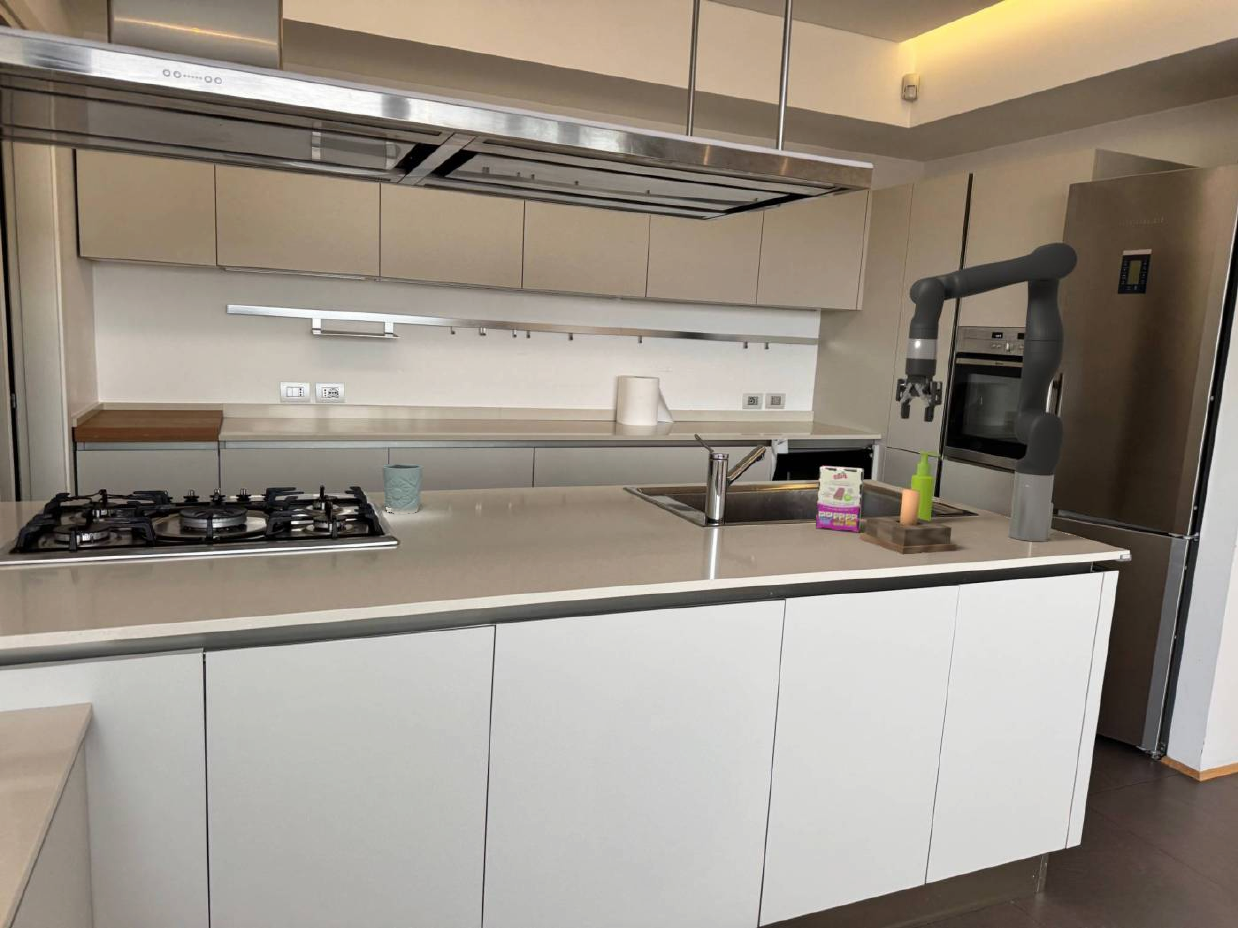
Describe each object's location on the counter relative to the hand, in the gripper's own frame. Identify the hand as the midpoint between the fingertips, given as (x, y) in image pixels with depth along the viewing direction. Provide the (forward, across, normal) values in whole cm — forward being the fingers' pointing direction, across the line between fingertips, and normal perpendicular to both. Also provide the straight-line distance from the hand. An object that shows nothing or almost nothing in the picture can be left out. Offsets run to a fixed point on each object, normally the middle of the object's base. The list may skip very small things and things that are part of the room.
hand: (916, 420), depth 228 cm
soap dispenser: (+30, +9, -12) cm, 33 cm away
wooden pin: (+28, -12, +11) cm, 32 cm away
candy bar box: (+30, +7, +17) cm, 35 cm away
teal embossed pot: (+29, +52, +122) cm, 136 cm away
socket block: (+30, -12, +11) cm, 34 cm away
